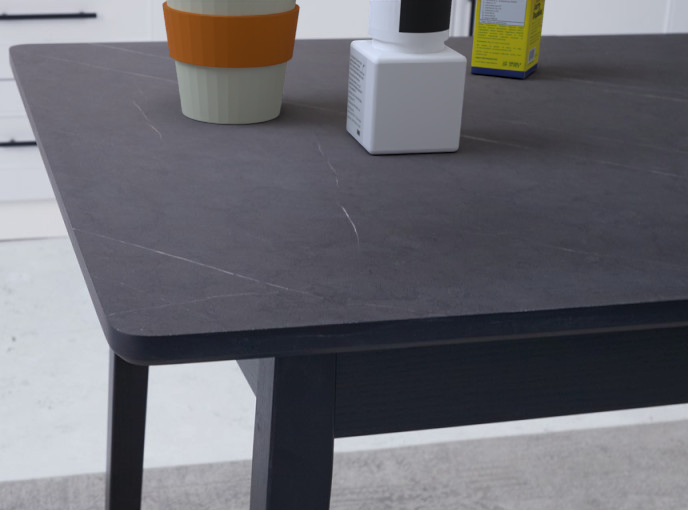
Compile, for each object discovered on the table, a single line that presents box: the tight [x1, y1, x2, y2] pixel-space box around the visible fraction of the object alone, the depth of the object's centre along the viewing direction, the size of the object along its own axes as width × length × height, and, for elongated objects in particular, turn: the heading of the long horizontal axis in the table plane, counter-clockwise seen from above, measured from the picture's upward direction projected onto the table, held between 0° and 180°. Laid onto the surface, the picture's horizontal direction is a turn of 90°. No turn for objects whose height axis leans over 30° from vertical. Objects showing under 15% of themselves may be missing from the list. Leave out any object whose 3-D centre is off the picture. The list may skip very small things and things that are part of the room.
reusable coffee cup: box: [162, 0, 301, 125], centre depth 102 cm, size 13×13×15 cm
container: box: [346, 0, 468, 155], centre depth 95 cm, size 8×8×13 cm
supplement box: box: [470, 0, 546, 80], centre depth 121 cm, size 6×6×11 cm
